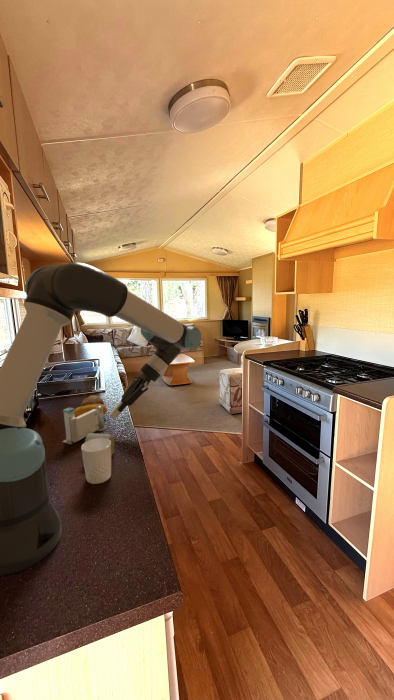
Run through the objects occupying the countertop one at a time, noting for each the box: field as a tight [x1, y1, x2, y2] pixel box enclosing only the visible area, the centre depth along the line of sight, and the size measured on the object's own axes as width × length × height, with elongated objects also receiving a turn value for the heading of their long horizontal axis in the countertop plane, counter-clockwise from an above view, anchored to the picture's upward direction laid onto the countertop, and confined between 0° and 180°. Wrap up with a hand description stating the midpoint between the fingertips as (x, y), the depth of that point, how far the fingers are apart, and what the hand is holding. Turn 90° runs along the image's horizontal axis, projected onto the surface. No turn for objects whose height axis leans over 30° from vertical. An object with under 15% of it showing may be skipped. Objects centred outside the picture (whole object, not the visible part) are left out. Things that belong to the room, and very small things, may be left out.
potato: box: [74, 404, 108, 417], centre depth 126 cm, size 8×14×7 cm, turn 108°
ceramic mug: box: [84, 432, 116, 457], centre depth 98 cm, size 11×8×8 cm
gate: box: [70, 409, 99, 443], centre depth 110 cm, size 12×2×9 cm, turn 155°
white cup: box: [80, 438, 112, 485], centre depth 85 cm, size 8×8×10 cm
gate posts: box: [62, 405, 108, 445], centre depth 112 cm, size 18×5×12 cm, turn 144°
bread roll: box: [80, 394, 105, 407], centre depth 139 cm, size 10×10×8 cm
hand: (112, 416), depth 112 cm, fingers closed
